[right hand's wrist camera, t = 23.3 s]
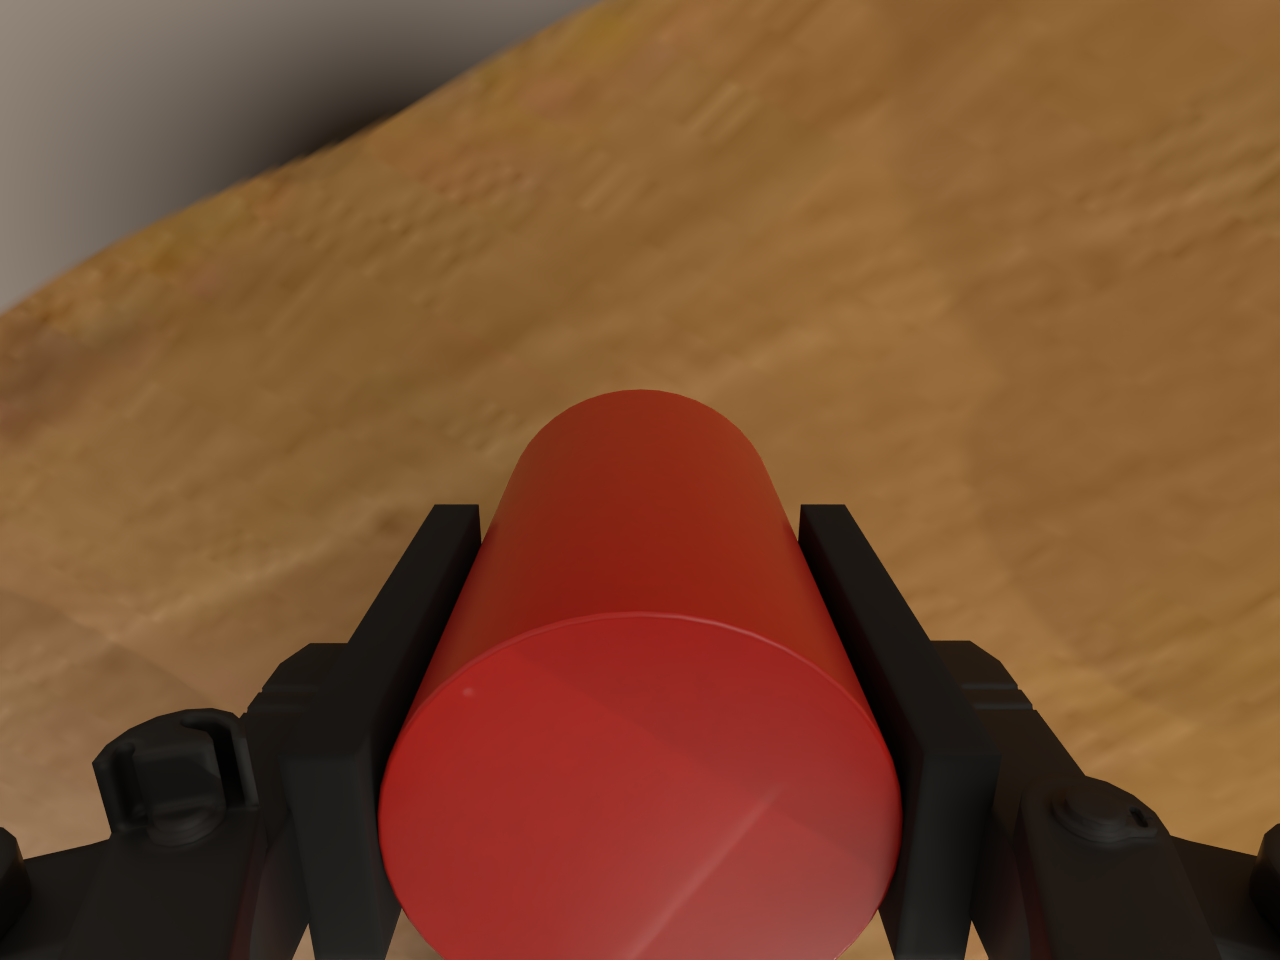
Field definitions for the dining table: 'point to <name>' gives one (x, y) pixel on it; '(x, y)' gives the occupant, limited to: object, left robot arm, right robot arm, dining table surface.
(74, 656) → the dining table surface
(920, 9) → the dining table surface
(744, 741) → the canister
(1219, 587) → the dining table surface
